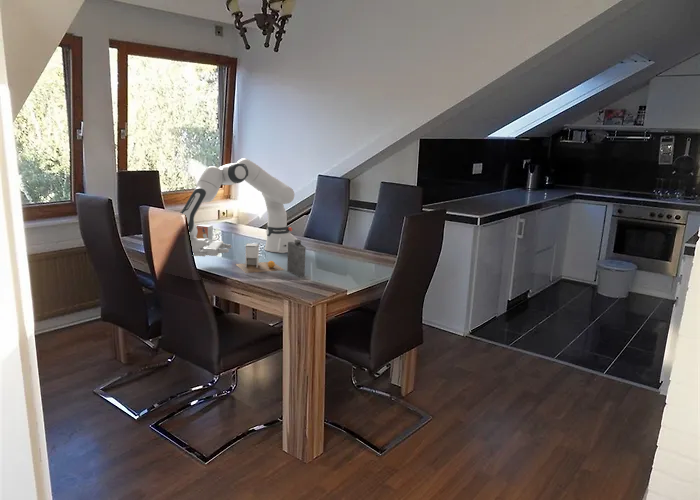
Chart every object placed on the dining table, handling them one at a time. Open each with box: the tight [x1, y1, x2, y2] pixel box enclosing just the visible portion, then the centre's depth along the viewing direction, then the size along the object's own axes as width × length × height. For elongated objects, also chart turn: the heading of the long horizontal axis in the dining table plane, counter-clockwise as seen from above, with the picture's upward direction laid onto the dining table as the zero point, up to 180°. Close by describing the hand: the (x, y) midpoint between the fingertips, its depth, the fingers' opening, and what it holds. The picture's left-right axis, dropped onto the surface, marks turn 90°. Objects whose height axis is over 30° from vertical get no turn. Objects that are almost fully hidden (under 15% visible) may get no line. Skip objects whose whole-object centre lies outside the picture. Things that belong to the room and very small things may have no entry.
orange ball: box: [267, 260, 276, 268], centre depth 274 cm, size 4×4×4 cm
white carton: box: [245, 242, 260, 267], centre depth 275 cm, size 6×6×11 cm
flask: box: [286, 239, 306, 278], centre depth 264 cm, size 4×14×18 cm, turn 35°
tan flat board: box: [234, 261, 285, 274], centre depth 275 cm, size 20×18×1 cm
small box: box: [196, 224, 214, 240], centre depth 328 cm, size 8×6×10 cm
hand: (229, 248), depth 273 cm, fingers open, 8 cm apart
